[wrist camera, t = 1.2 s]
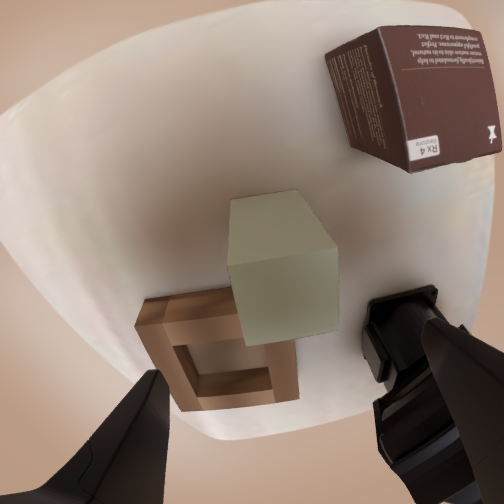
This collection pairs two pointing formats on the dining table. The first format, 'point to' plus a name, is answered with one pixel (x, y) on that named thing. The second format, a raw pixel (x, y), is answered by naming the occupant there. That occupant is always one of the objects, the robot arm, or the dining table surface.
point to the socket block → (214, 353)
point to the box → (417, 95)
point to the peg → (281, 268)
